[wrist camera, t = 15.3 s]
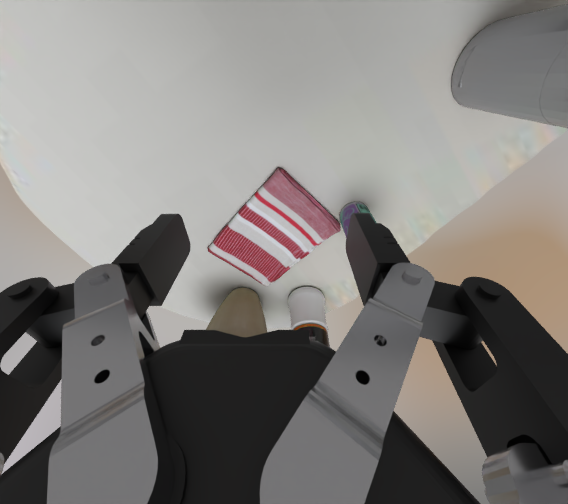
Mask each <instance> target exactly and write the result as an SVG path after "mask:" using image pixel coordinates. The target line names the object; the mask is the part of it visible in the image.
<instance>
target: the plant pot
mask: <svg viewBox="0 0 568 504" xmlns="http://www.w3.org/2000/svg"><path fill="white" fill-rule="evenodd" d="M206 330H217V331H221V332H225V333H229V334H233V335H237V336H240V337H250V336H255V335H259V334H263V333H267V328H266V322H265V318H264V314H263V310H262V306H261V303H260V300H259V297H258V295H257V294H256V292H254V291H253V290H251V289H248V288H237V289H234V290H233V291H232V292H231V293H230V294H229V295H228V296H227V298H226V299H225V300H224V301H223V303H222V304H221V306H220V307H219V309H218V310H217V312H216V313H215V315H214V316H213V318H212V320H211V321H210V323H209V325H208V327H207V329H206Z"/></svg>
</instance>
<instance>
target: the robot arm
mask: <svg viewBox="0 0 568 504" xmlns="http://www.w3.org/2000/svg"><path fill="white" fill-rule="evenodd" d="M451 87H452V93H453V96H454V98H455V100H456V101H457V102H458V103H459V104H460V105H462V106H464V107H468V108H472V109H477V110H482V111H486V112H491V113H496V114H501V115H505V116H510V117H515V118H520V119H525V120H530V121H535V122H540V123H544V124H549V125H554V126H560V127H565V128H568V4H566V5H562V6H557V7H553V8H549V9H545V10H540V11H536V12H531V13H527V14H523V15H518V16H514V17H510V18H506V19H502V20H499V21H496V22H494V23H492V24H490V25H488V26H487V27H486V28H484V29H483V30H481V31H480V32H479V33H478V34H477V35H476V36H475V37H474V38H473V39H472V40H471V41H470V42H469V43H468V45H467V46H466V47H465V49H464V50H463V52H462V53H461V55H460V57H459V59H458V61H457V63H456V65H455V68H454V72H453V75H452V83H451ZM129 244H130V245H128V246H127V247H126V248H125V249H124V250H123V251H122V252H121V253H120V254H119V256H118V257H117V258H116V259H115V260H114V261H113V262H112V263H111V264H103V265H99V266H96V267H93V268H91V269H89V270H87V271H85V272H84V273H83V274H81V275H80V276H79V277H78V278H77V279H76V281H75V283H72V284H68V285H63V286H58V287H54V286H53V285H52V284H51V283H50V282H49V281H48V280H47V279H46V278H41V277H38V278H31V279H27V280H24V281H21V282H19V283H16V284H14V285H12V286H10V287H8V288H7V289H5V290H4V291H2V292H1V293H0V363H1V359H2V357H3V356H4V354H5V353H6V352H7V351H8V350H9V349H10V348H11V347H12V346H13V345H14V344H15V342H16V341H17V340H18V339H19V338H20V337H21V336H22V335H23V334H24V333H25V332H27V333H28V334H29V335H30V336H32V337H33V338H34V339H35V340H36V341H37V342H36V344H35V345H34V346H33V347H32V348H31V350H30V351H29V352H28V353H27V354H26V355H25V356H24V358H23V359H22V360H21V361H20V363H19V364H18V365H17V366H16V367H15V368H14V370H13V371H12V372H11V373H10V374H9V375H7V374H6V373H4V372H3V371H2V370H1V368H0V504H480V503H479V502H478V501H477V499H475V498H474V496H473V495H472V494H471V493H470V492H469V491H468V490H467V489H466V488H465V487H464V486H463V485H462V483H461V482H460V481H459V480H458V479H457V478H456V477H455V476H454V475H453V474H452V473H451V472H450V471H449V470H448V468H447V467H446V466H445V465H444V464H443V463H442V462H441V461H440V460H439V459H438V458H437V457H436V456H435V455H434V454H433V452H432V451H431V450H430V449H429V448H428V447H427V446H426V445H425V444H424V443H423V442H422V441H421V440H420V439H419V438H418V437H417V435H416V434H415V433H414V432H413V431H412V430H411V429H410V428H409V427H408V426H407V425H406V424H405V423H404V422H403V421H402V420H401V418H400V417H399V416H398V415H397V414H396V413H395V412H394V411H393V410H394V407H395V404H396V402H397V399H398V396H399V393H400V390H401V387H402V384H403V381H404V378H405V376H406V373H407V370H408V367H409V364H410V361H411V358H412V355H413V353H414V350H415V347H416V344H417V341H418V338H419V337H423V338H426V339H430V340H432V341H433V343H434V345H435V347H436V349H437V351H438V353H439V356H440V358H441V360H442V362H443V364H444V366H445V368H446V370H447V373H448V375H449V377H450V379H451V381H452V383H453V385H454V387H455V390H456V391H457V394H458V396H459V398H460V400H461V402H462V404H463V406H464V409H465V411H466V413H467V415H468V417H469V419H470V421H471V423H472V426H473V428H474V430H475V432H476V434H477V436H478V438H479V440H480V442H481V444H482V447H483V449H484V451H485V453H486V455H487V457H488V458H487V459H486V460H485V461H484V464H483V468H482V475H483V481H484V484H485V494H486V497H487V499H488V501H489V503H490V504H568V354H567V353H566V352H565V351H564V350H563V349H562V347H561V346H560V345H559V344H558V343H557V342H556V341H555V340H554V339H553V338H552V337H551V336H550V334H549V333H548V332H547V331H546V330H545V329H544V328H543V327H542V326H541V325H540V324H539V323H538V321H537V320H536V319H535V318H534V317H533V316H532V315H531V314H530V313H529V312H528V311H527V310H526V308H524V306H523V305H522V304H521V303H520V302H519V301H518V300H517V299H516V298H515V297H514V296H513V294H512V293H510V291H509V290H507V289H506V288H505V287H503V286H502V285H500V284H498V283H496V282H494V281H492V280H489V279H485V278H481V277H469V278H466V279H465V280H464V281H463V282H462V284H461V285H460V286H456V285H451V284H447V283H442V282H438V281H435V280H434V277H433V276H432V275H431V274H430V272H428V271H427V270H426V269H424V268H422V267H421V266H418V265H415V264H412V263H410V261H409V260H408V258H407V257H406V255H405V253H404V252H403V250H402V249H401V247H400V246H399V244H397V241H396V239H395V238H394V236H393V235H392V233H391V232H390V230H389V229H388V228H386V227H385V226H383V225H382V224H381V223H375V221H374V220H373V218H372V216H371V214H370V213H352V215H351V218H350V223H349V228H348V233H347V239H346V253H347V256H348V259H349V262H350V265H351V268H352V271H353V274H354V278H355V281H356V284H357V287H358V290H359V293H360V296H361V299H362V302H363V305H364V308H363V310H362V311H361V313H360V314H359V316H358V318H357V319H356V321H355V322H354V324H353V326H352V327H351V329H350V331H349V332H348V334H347V335H346V337H345V339H344V340H343V342H342V344H341V345H340V347H339V349H338V350H337V351H334V350H332V349H331V348H330V347H328V346H326V345H324V344H322V343H319V342H316V341H313V340H310V336H309V330H276V331H272V332H267V333H263V334H259V335H255V336H250V337H240V336H237V335H233V334H229V333H225V332H221V331H217V330H184V332H183V335H182V337H181V340H179V341H176V342H173V343H170V344H168V345H166V346H163V347H162V348H160V346H159V343H158V341H157V338H156V335H155V332H154V329H153V326H152V323H151V320H150V317H149V315H148V313H147V311H146V310H147V309H148V307H149V306H162V304H163V302H164V300H165V298H166V296H167V294H168V292H169V291H170V289H171V287H172V285H173V283H174V281H175V279H176V277H177V275H178V274H179V272H180V270H181V268H182V266H183V264H184V262H185V260H186V259H187V257H188V255H189V252H190V241H189V238H188V235H187V232H186V229H185V225H184V222H183V219H182V217H181V216H180V215H179V214H161V215H160V216H159V217H158V218H157V219H156V221H155V222H154V223H153V224H152V225H149V226H148V227H146V228H145V229H143V230H141V231H140V232H139V233H138V235H137V236H136V237H135V239H133V240H132V241H131V242H130V243H129ZM482 341H484V342H485V344H486V345H487V347H488V348H489V350H490V351H491V353H492V354H493V356H494V358H495V360H496V363H497V366H496V365H495V363H494V362H493V360H492V358H491V357H490V356H489V354H488V352H487V351H486V349H485V348H484V346H483V345H482V343H481V342H482ZM61 379H62V387H61V388H62V390H61V427H59V428H58V429H57V430H56V431H55V432H53V433H52V434H51V435H50V436H48V437H47V438H46V439H45V440H43V441H42V442H41V443H40V444H38V445H37V446H36V447H35V448H34V449H32V450H31V451H30V452H29V453H27V454H26V455H25V456H24V457H22V458H21V459H20V460H19V461H18V462H16V463H15V464H14V465H13V466H11V467H10V468H9V469H8V470H7V471H5V472H4V473H3V474H2V475H1V473H2V471H3V467H4V464H5V462H6V461H7V459H8V458H9V456H10V455H11V453H12V452H13V450H14V449H15V447H16V446H17V444H18V443H19V441H20V440H21V438H22V437H23V435H24V434H25V432H26V431H27V429H28V428H29V426H30V425H31V423H32V422H33V420H34V419H35V417H36V416H37V414H38V413H39V411H40V410H41V408H42V407H43V406H44V404H45V402H46V401H47V399H48V398H49V397H50V395H51V394H52V392H53V391H54V389H55V388H56V386H57V385H58V383H59V382H60V380H61Z"/></svg>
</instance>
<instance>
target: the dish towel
mask: <svg viewBox="0 0 568 504" xmlns="http://www.w3.org/2000/svg"><path fill="white" fill-rule="evenodd" d="M340 230H341V229H340V224H339V223H338V222H337V221H336V220H335V219H334V218H333V217H332V216H331V215H330V214H329V213H328V212H327V211H326V210H325V209H324V208H323V207H322V206H321V205H320V204H319V203H318V202H317V201H316V200H315V199H314V198H313V197H312V196H311V195H310V194H309V193H308V192H307V191H306V190H305V189H303V188H302V187H301V186H300V185H299V184H298V183H297V182H296V181H295V180H294V179H293V178H292V177H291V176H290V175H289V174H288V173H287V172H286V171H285V170H284V169H281V168H278V169H277V170H276V171H275V172H274V173H273V175H272V176H271V177H270V178H269V179H268V180H267V181H266V182H265V183H264V185H263V186H262V187H261V188H260V189H259V190H258V191H257V192H256V193H255V194H254V195H253V196H252V197H251V199H250V200H249V201H248V202H247V203H246V204H245V205H244V206H243V207H242V208H241V209H240V210H239V212H238V213H237V214H236V215H235V216H234V218H233V219H232V220H231V221H230V222H229V223H228V224H227V225H226V226H225V227H224V228H223V229H222V231H221V232H220V233H219V234H218V235H217V237H216V238H215V240H214V241H213V243H212V244H211V245H210V246H209V247H208V252H210V253H212V254H213V255H215V256H216V257H218V258H220V259H222V260H223V261H225V262H227V263H229V264H230V265H232V266H233V267H235V268H237V269H238V270H240V271H242V272H244V273H245V274H247V275H249V276H251V277H252V278H253V279H255V280H256V281H258V282H259V283H261V284H263V285H265V286H268V285H270V284H271V283H273V282H274V281H276V280H277V279H278V278H280V277H281V276H282V275H283V274H284V273H285V272H286V271H287V270H289V269H290V268H291V267H292V266H293V265H294V264H295V263H297V262H298V261H300V260H301V259H302V258H304V257H305V256H307V255H308V254H309V253H311V252H312V251H313V250H314V249H315V248H316V247H317V246H318V245H319V244H321V243H322V242H324V241H325V240H326V239H328V238H329V237H330V236H332V235H333V234H335V233H337V232H339V231H340Z"/></svg>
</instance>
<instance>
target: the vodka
mask: <svg viewBox="0 0 568 504" xmlns="http://www.w3.org/2000/svg"><path fill="white" fill-rule="evenodd" d="M288 306H289V309H290V315H291V330H309V336H310V340H313V341H316V342H319V343H322V344H324V345H326V346H328V347H330V345H329V339H328V327H327V325H326V319H325V297H324V295H323V294H322V292H321V291H320V290H318V289H316V288H313V287H301V288H298V289H296V290H294V291H293V292H292V293H291V294H290V296H289V298H288Z"/></svg>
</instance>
